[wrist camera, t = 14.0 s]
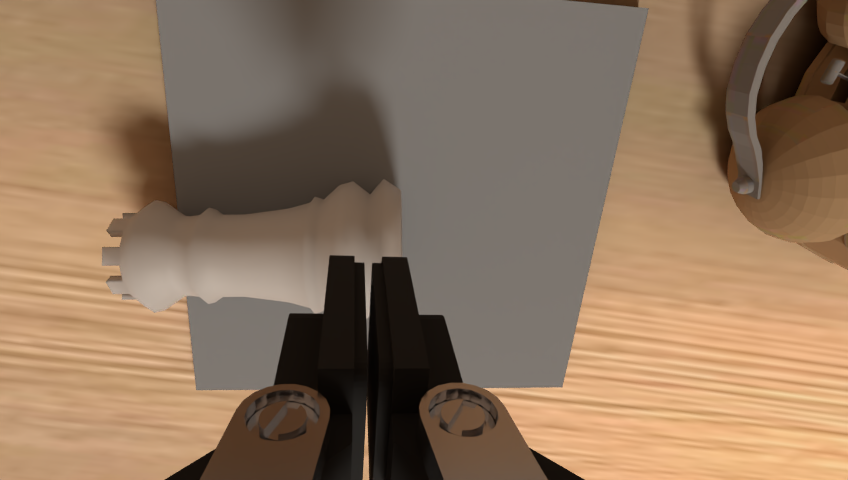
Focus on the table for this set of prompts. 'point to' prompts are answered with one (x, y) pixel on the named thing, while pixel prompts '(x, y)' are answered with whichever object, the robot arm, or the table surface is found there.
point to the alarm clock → (793, 136)
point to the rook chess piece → (252, 249)
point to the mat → (408, 155)
